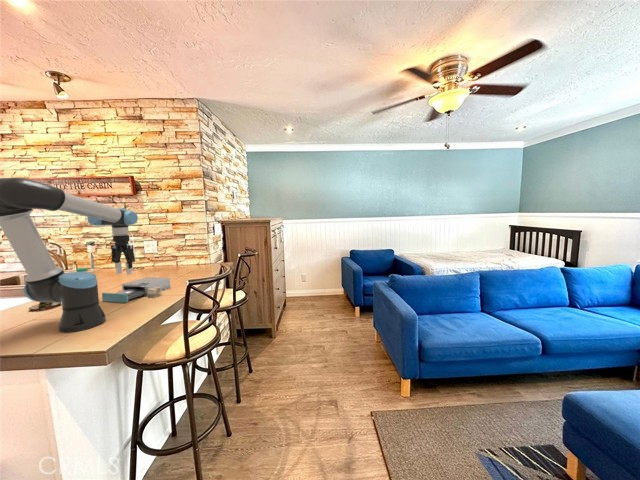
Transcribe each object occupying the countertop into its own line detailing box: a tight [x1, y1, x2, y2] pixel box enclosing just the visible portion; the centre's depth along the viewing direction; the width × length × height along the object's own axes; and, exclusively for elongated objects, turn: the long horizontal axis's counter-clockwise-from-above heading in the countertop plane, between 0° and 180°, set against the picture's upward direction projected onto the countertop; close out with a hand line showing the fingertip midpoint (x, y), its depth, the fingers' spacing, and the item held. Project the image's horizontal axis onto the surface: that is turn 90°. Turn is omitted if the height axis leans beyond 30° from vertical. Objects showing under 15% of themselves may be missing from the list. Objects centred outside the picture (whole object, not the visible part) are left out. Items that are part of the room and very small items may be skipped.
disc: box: [117, 289, 135, 295], centre depth 146 cm, size 8×8×2 cm
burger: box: [28, 302, 62, 313], centre depth 133 cm, size 12×12×8 cm
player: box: [121, 276, 171, 297], centre depth 160 cm, size 18×18×7 cm
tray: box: [101, 289, 145, 304], centre depth 147 cm, size 17×17×5 cm
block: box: [147, 287, 163, 299], centre depth 149 cm, size 5×5×5 cm
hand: (124, 273), depth 145 cm, fingers open, 7 cm apart
